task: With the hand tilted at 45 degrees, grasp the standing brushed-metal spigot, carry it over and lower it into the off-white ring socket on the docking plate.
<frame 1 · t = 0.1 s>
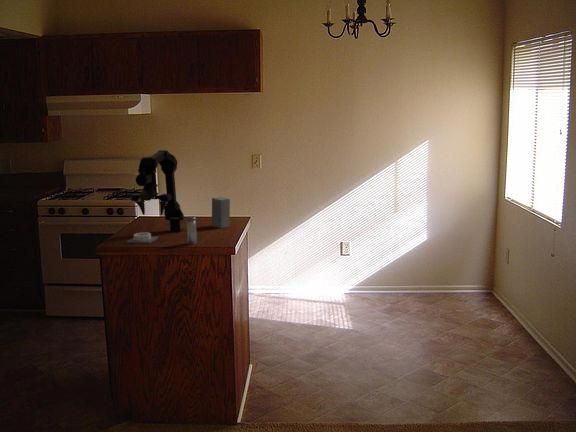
hand: (152, 214, 309), 15 cm above the table, tool pointing down, fingers open, 9 cm apart
spigot: (192, 243, 311), on the table
skincare box: (221, 226, 347), on the table
dock: (142, 240, 320), on the table
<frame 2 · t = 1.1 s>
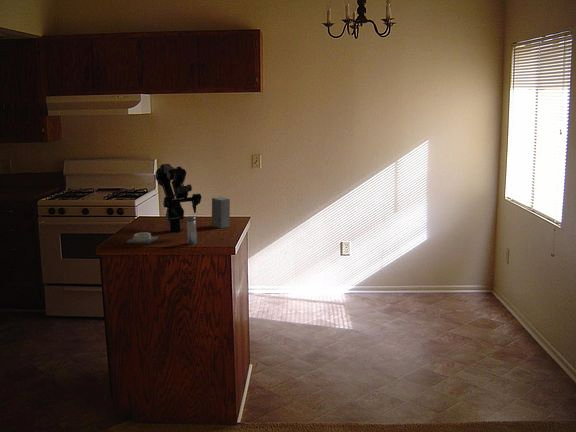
hand: (186, 214, 315), 13 cm above the table, tool tilted 45°, fingers open, 9 cm apart
nothing on the table moved.
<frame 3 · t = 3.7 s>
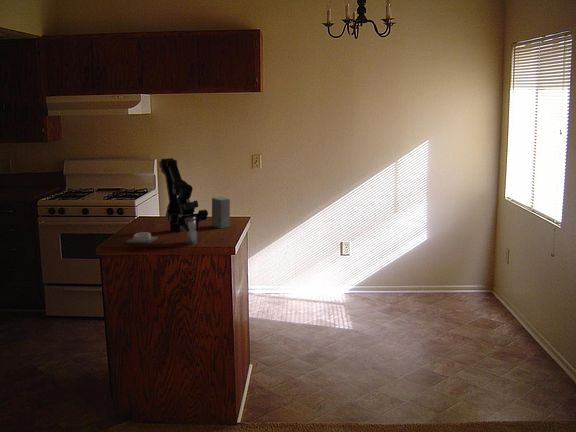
hand: (192, 230, 308), 7 cm above the table, tool tilted 45°, fingers closed on spigot, 4 cm apart
spigot: (192, 243, 311), on the table, touching gripper
everything else where it was.
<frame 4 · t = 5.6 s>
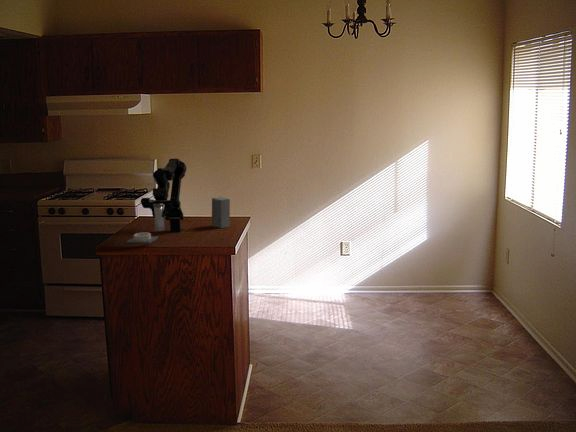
hand: (158, 217, 308), 14 cm above the table, tool tilted 45°, fingers closed on spigot, 4 cm apart
spigot: (160, 229, 311), point 7 cm above the table, touching gripper
everything else where it was.
when the fingers open (8 cm above the table, at t = 7.7 s): spigot drops 1 cm, resting on dock.
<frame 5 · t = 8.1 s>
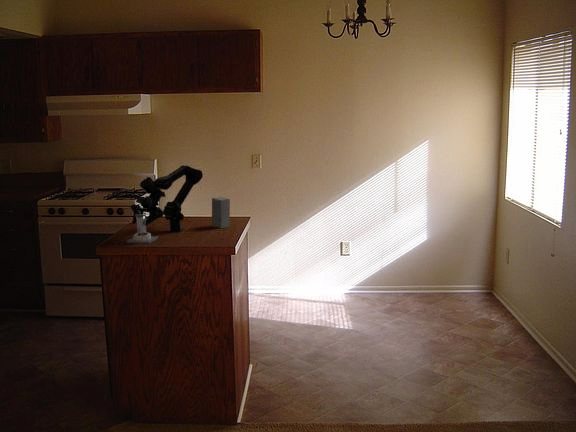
hand: (139, 224, 317), 9 cm above the table, tool tilted 45°, fingers open, 8 cm apart
spigot: (142, 238, 320), point 1 cm above the table, touching dock
everything else where it was.
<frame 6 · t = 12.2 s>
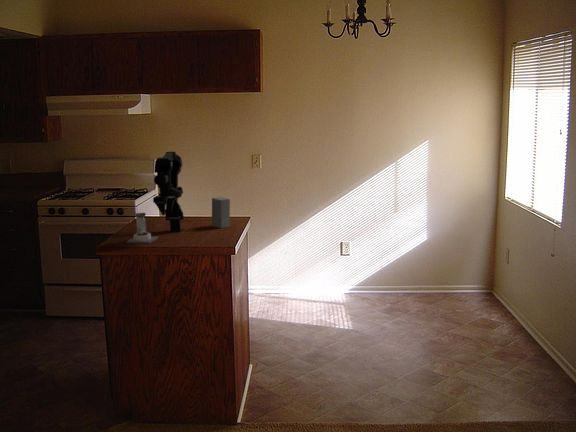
hand: (167, 213, 320), 13 cm above the table, tool pointing down, fingers open, 9 cm apart
nothing on the table moved.
at the end: spigot 0.0 cm off-centre on the dock, point 0.8 cm above the dock's base; spigot tilted 1°; the gripper is holding nothing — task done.
